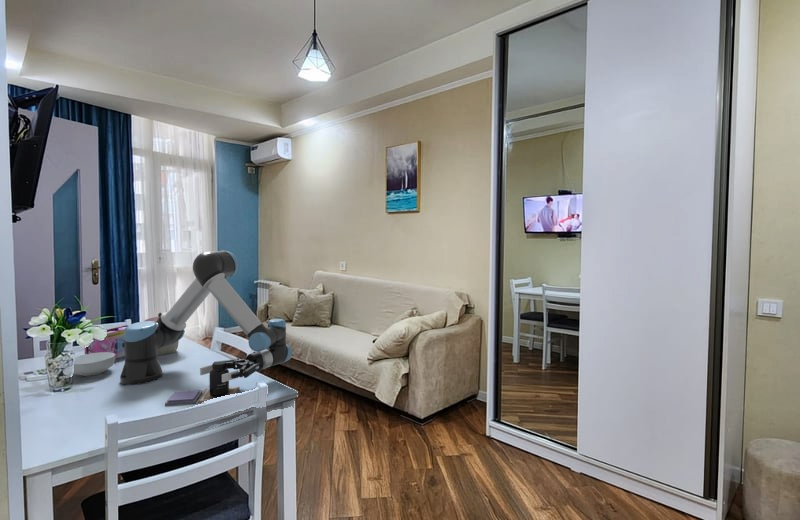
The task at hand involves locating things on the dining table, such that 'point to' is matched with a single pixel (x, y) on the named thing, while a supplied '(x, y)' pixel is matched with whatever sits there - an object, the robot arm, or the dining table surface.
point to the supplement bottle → (218, 380)
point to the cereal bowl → (93, 363)
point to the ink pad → (184, 397)
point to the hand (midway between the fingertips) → (211, 375)
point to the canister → (167, 348)
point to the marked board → (207, 396)
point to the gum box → (109, 343)
